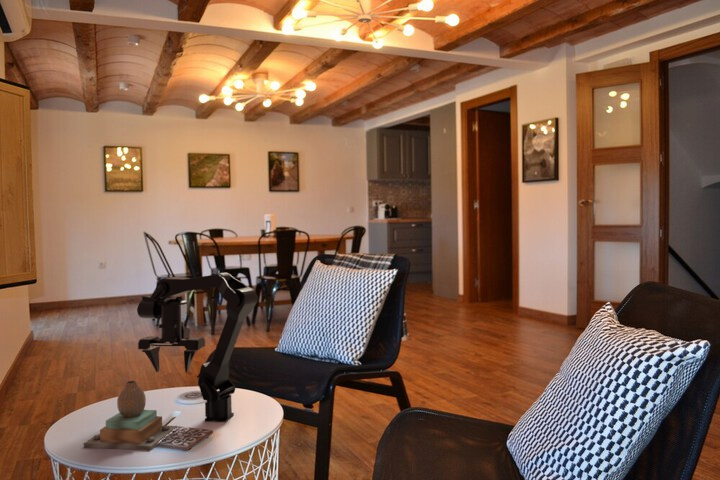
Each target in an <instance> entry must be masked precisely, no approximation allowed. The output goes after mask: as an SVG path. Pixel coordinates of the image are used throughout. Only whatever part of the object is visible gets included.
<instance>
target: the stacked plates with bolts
mask: <svg viewBox="0 0 720 480" xmlns="http://www.w3.org/2000/svg"><path fill="white" fill-rule="evenodd" d="M157 414H158V413H157V410H156V409H144V410H143V412H142V413H141V414H140V415H139V416H136V417H130V418H127V417H124V416H122V415H121V414H120V412H118V413H116V414H114V415H113V416H111V417H110V418H108V419H106V420H105V426H104V427H102V428H100V429H99V433H98V434H95V435H93V437H92V438H90V439H88V440H86V441H85V442H84V443H83V448H92V449H93V448H94V449H95V448H96V449H97V448H98V449H114V450H115V449H119V450H141V451H145V450H146V451H152V450H153V449H154V448H156V447H157V446H158V445H157V443H158V442H159V441H160V440H161V439H162V438H163V437H165V436H166V435H167V434H169V433H170V432H171V431H172V430H173V429H175V428H177V429H178V425H163V416H161V415H160V416H157ZM156 445H157V446H156Z"/></svg>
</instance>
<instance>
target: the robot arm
mask: <svg viewBox="0 0 720 480" xmlns="http://www.w3.org/2000/svg"><path fill="white" fill-rule="evenodd" d="M213 288H215V289H217V291H219V294H220V296H221V297H222V299H224V300H225V301H226V304H225V310H226V319H225V322H224V325H223V327H222V329H221V333H220V336H219V338H218V341H217V344H216V347H215V348H214V349H215V350H214V352H213V354H212V355H213V356H212V358H211V360H210V361H208V362H205V363H203V364H202V365H201V366H200V368H199V369H200V370H199V373H198V375H197V376H196V377H197V386H198V387H199V390H200V393H201V397H202V400H203V401H205V403H204V405H205V406H204V413H205V414H204V416H205V418H204V421H205V422H220V423H221V422H223V423H225V422H228V421H229V420H230V419H231V418H232V417H233V416H234V414H235V413H234V412H233V411H232V406H233V405H232V394H235V391H236V389H237V388H236V386H235V384H234V383H233V382H232V380H231V379H230V378H229V377H230V369H229V362H230V359H231V356H232V354H233V351H234V349H235V345H236V343H237V341H238V339H239V334H240V332H241V330H242V327H243V324H244V322H245V319H246V318H247V317H248V316H249V315H250V314H251V313H252V312H253V310H254V307H255V306H256V305H257V302H258V299H259V298H258V295H257V294H258V293H257V292H256V290H255V289H253V287H249V286H248V285H247V284H245V283H244V282H242V281H241V280H238V279H237V278H235V277H234V276H232V274H230V273H228V272H218V273H215V274H211V275H204V276H196V277H191V278H190V277H185V276H184V277H183V276H172V277H163V278H160V279H159V280H158V282H157V283H156V287H155V289H154V290H153V292H152V293H151V295H143V296H142V297H141V300H140V301H139V304H138V305H137V308H136V311H137V316H138V317H139V318H142V319H153V320H159V319H160V324H158V329H160V330H161V331H160V332H161V337H160V338H159V337H158V336H145V337H142V338H140V339H139V340H138V342H137V350H141V352H142V353H145V355H146V356H147V358H148V359H149V361H150V363H151V365H152V366H153V368H154V371H155V372H156V373H158V372H159V371H160V354H159V353H160V349H161V347H184V348H185V350H184V351H183V359H184V361H183V364H184V370H185V371H184V372H185V373H187V374H188V373H189V371H190V368H191V364H192V363H193V362H192V361H193V359H194V357H195V354H196V353H197V352H198V351H200V350H201V349H203V348H204V347H206V340H205V338H204V337H203V336H191V337H190V335H191V328H188V327H186V326H184V321H182V306H183V305H188V301H186V300H185V299H184V298H183V297H182V295H185V294H187V293H189V292H191V291H197V290H205V289H213ZM174 297H175V298H174Z"/></svg>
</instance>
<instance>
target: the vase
mask: <svg viewBox="0 0 720 480" xmlns="http://www.w3.org/2000/svg"><path fill="white" fill-rule="evenodd" d="M124 384H125V385H124V386H123V388H122V389H121V391H120V392H119V394H118V396H117V400H116V405H117V410H118V413H120V414H121V415H122V416H124V417H127V418H130V417H136V416H139V415H140V414H141V413H142V412H143V410H145V407H146V403H147V402H146V401H147V398H146V394H145V391H144V390H143V389H142V387H141V386H139V384H138V382H137V381H136V380H128V381H126V383H124Z"/></svg>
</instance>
